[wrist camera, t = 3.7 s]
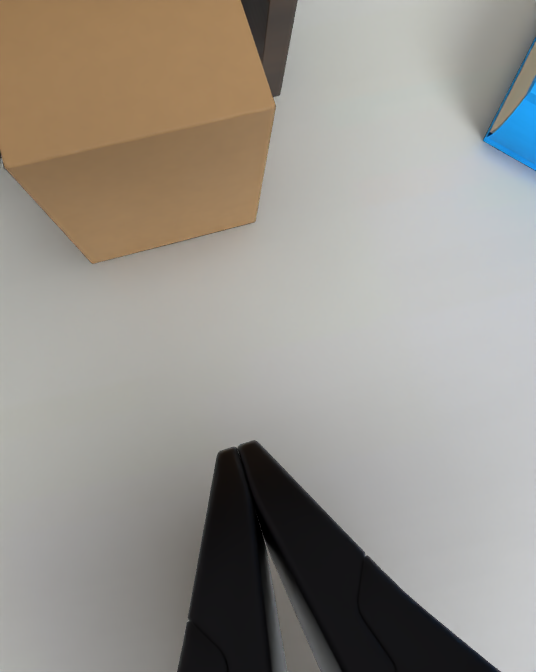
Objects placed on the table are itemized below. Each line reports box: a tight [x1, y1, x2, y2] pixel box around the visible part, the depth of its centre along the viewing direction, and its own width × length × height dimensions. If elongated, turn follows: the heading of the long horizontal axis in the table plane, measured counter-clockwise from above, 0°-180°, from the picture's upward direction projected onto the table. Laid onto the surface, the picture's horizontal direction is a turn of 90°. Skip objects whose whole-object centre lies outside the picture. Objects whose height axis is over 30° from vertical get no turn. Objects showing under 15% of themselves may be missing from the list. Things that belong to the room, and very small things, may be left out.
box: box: [0, 0, 276, 264], centre depth 19 cm, size 10×8×9 cm
